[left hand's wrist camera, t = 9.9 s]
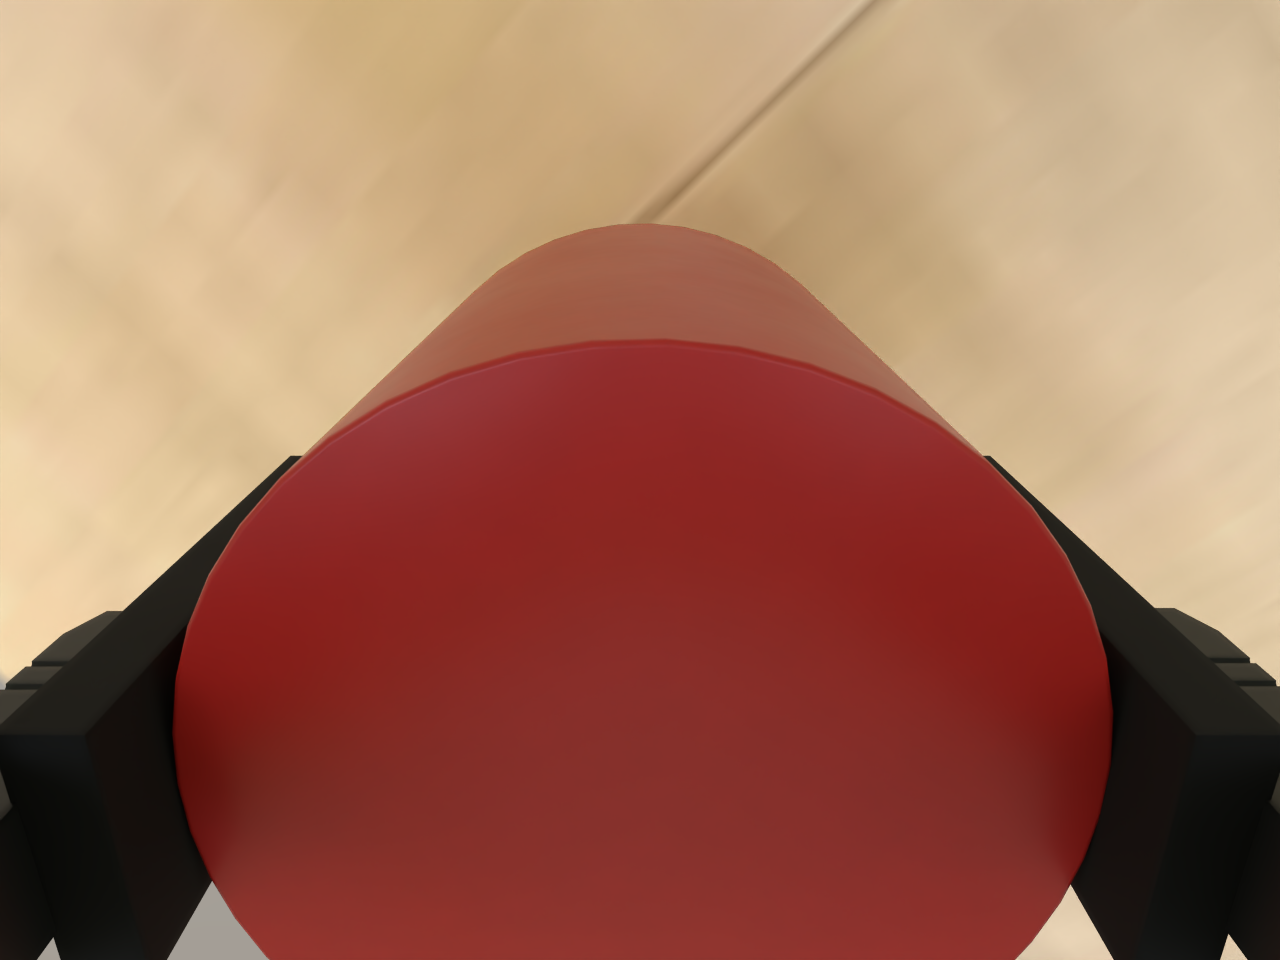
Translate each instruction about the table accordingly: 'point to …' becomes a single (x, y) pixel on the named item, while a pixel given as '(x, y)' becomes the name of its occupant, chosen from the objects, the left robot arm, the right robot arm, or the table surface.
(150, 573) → the table surface
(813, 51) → the table surface
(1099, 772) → the canister
